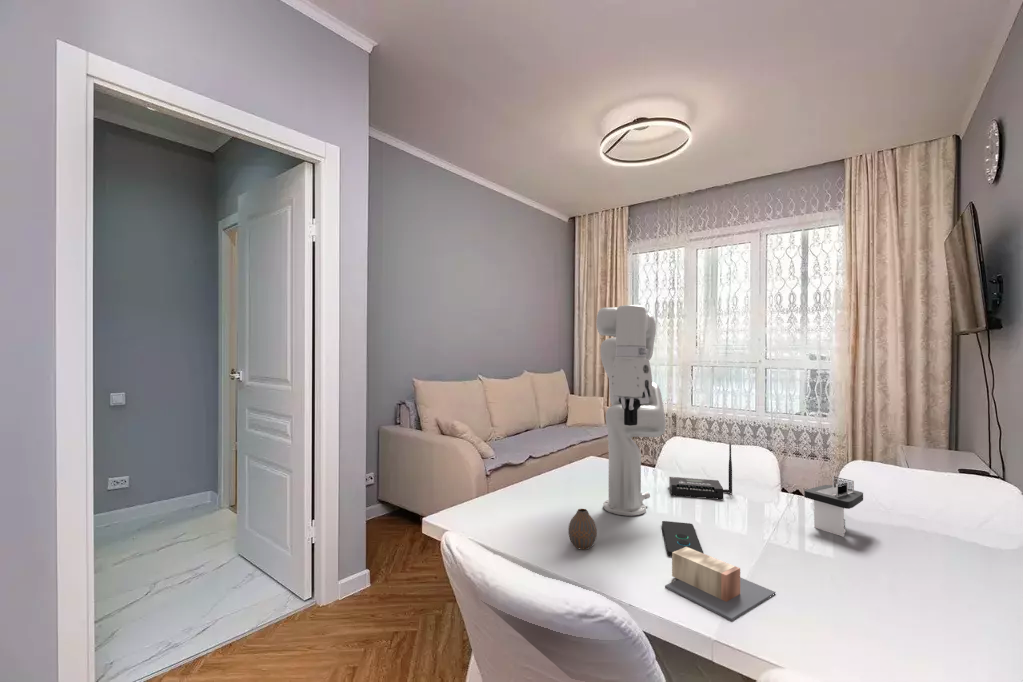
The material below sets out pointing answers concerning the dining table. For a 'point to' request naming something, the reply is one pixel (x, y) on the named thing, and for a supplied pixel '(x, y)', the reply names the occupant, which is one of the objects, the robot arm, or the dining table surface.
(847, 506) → the black-topped pedestal
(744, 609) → the mat
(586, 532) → the vase
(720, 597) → the maple block
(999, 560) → the dining table surface
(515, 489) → the dining table surface
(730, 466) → the black wifi router
